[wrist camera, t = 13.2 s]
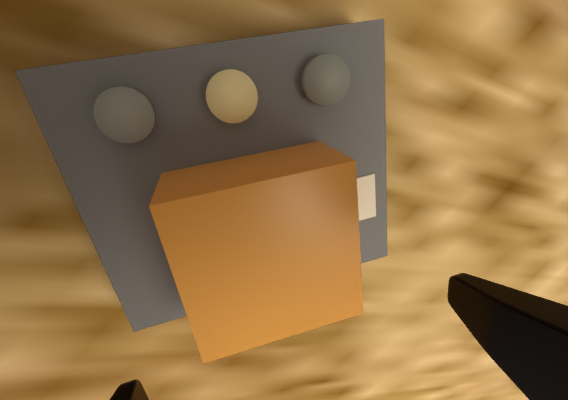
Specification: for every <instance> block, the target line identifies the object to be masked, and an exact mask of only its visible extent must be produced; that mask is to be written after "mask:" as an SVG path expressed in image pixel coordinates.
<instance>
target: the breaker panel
mask: <svg viewBox="0 0 568 400" xmlns="http://www.w3.org/2000/svg"><path fill="white" fill-rule="evenodd" d="M14 71H15V73H16V75H17V78H18V80H19V82H20V84H21V86H22V88H23V91H24V93H25V95H26V97H27V99H28V102H29V104H30V106H31V108H32V110H33V113H34V115H35V117H36V119H37V121H38V123H39V126H40V128H41V130H42V132H43V134H44V137H45V139H46V141H47V143H48V145H49V148H50V150H51V152H52V154H53V156H54V159H55V161H56V163H57V165H58V167H59V169H60V172H61V174H62V176H63V178H64V180H65V183H66V185H67V187H68V189H69V191H70V194H71V196H72V198H73V200H74V202H75V204H76V207H77V209H78V211H79V213H80V215H81V218H82V220H83V222H84V224H85V226H86V229H87V231H88V233H89V235H90V237H91V240H92V242H93V244H94V246H95V248H96V250H97V253H98V255H99V257H100V259H101V261H102V264H103V266H104V268H105V270H106V272H107V275H108V277H109V279H110V281H111V283H112V285H113V288H114V290H115V292H116V294H117V296H118V299H119V301H120V303H121V305H122V307H123V310H124V312H125V314H126V316H127V318H128V321H129V323H130V325H131V327H132V329H133V331H134V332H135V331H138V330H141V329H145V328H148V327H151V326H155V325H158V324H161V323H165V322H168V321H171V320H175V319H178V318H181V317H185V316H187V315H186V312H185V309H184V306H183V303H182V300H181V297H180V295H179V292H178V289H177V286H176V283H175V280H174V277H173V274H172V271H171V269H170V266H169V263H168V260H167V257H166V254H165V251H164V248H163V246H162V243H161V240H160V237H159V234H158V231H157V228H156V225H155V223H154V220H153V217H152V214H151V211H150V208H149V204H150V202H151V199H152V196H153V194H154V191H155V189H156V186H157V183H158V181H159V178H160V175H161V173H163V172H168V171H173V170H178V169H183V168H188V167H193V166H198V165H203V164H208V163H212V162H217V161H222V160H227V159H232V158H237V157H242V156H247V155H252V154H257V153H262V152H266V151H271V150H276V149H281V148H286V147H291V146H296V145H301V144H306V143H311V142H316V141H320V142H322V143H324V144H326V145H328V146H330V147H332V148H333V149H335V150H337V151H339V152H341V153H343V154H345V155H347V156H348V157H350V158H352V159H354V160H356V172H357V192H358V212H359V232H360V252H361V263H364V262H368V261H371V260H374V259H378V258H381V257H384V256H387V194H386V122H385V51H384V19H378V20H371V21H364V22H357V23H350V24H342V25H335V26H328V27H321V28H314V29H307V30H300V31H292V32H285V33H278V34H271V35H264V36H257V37H250V38H243V39H235V40H228V41H221V42H214V43H207V44H200V45H193V46H185V47H178V48H171V49H164V50H157V51H150V52H143V53H136V54H128V55H121V56H114V57H107V58H100V59H93V60H86V61H78V62H71V63H64V64H57V65H50V66H43V67H36V68H29V69H21V70H14Z"/></svg>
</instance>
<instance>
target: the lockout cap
mask: <svg viewBox="0 0 568 400" xmlns="http://www.w3.org/2000/svg"><path fill="white" fill-rule="evenodd" d="M149 208H150V211H151V214H152V217H153V220H154V223H155V225H156V228H157V231H158V234H159V237H160V240H161V243H162V246H163V248H164V251H165V254H166V257H167V260H168V263H169V266H170V269H171V271H172V274H173V277H174V280H175V283H176V286H177V289H178V292H179V295H180V297H181V300H182V303H183V306H184V309H185V312H186V315H187V318H188V320H189V323H190V326H191V329H192V332H193V335H194V338H195V341H196V343H197V346H198V349H199V352H200V355H201V358H202V361H203V364H204V363H207V362H210V361H213V360H216V359H219V358H223V357H226V356H229V355H232V354H235V353H238V352H242V351H245V350H248V349H251V348H254V347H258V346H261V345H264V344H267V343H270V342H273V341H277V340H280V339H283V338H286V337H289V336H292V335H296V334H299V333H302V332H305V331H308V330H311V329H315V328H318V327H321V326H324V325H327V324H331V323H334V322H337V321H340V320H343V319H346V318H350V317H353V316H356V315H359V314H362V313H363V293H362V273H361V252H360V232H359V212H358V192H357V172H356V160H354V159H352V158H350V157H348V156H347V155H345V154H343V153H341V152H339V151H337V150H335V149H333V148H332V147H330V146H328V145H326V144H324V143H322V142H320V141H316V142H311V143H306V144H301V145H296V146H291V147H286V148H281V149H276V150H271V151H266V152H262V153H257V154H252V155H247V156H242V157H237V158H232V159H227V160H222V161H217V162H212V163H208V164H203V165H198V166H193V167H188V168H183V169H178V170H173V171H168V172H163V173H161V175H160V178H159V181H158V183H157V186H156V189H155V191H154V194H153V196H152V199H151V202H150V204H149Z"/></svg>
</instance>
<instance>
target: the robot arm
mask: <svg viewBox="0 0 568 400" xmlns="http://www.w3.org/2000/svg"><path fill="white" fill-rule="evenodd" d="M448 302H449V304H450V306H451V307H452V308H453V310H454V311H455V312H456V314H457V315H458V316H459V318H460V319H461V320H462V321H463V323H464V324H465V325H466V327H467V328H468V329H469V331H470V332H471V333H472V335H473V336H474V337H475V339H476V340H477V341H478V343H479V344H480V345H481V346H482V347H483V349H484V350H485V351H486V352H487V353H488V355H489V356H490V357H491V358H492V359H493V360H494V361H495V362H496V364H497V365H498V366H499V367H500V368H501V369H502V370H503V371H504V372H505V373H506V375H507V376H508V377H509V378H510V379H511V380H512V381H513V382H514V383H515V384H516V386H517V387H518V388H519V389H520V390H521V391H522V392H523V393H524V394H525V395H526V397H527V398H528V399H529V400H568V306H566V305H563V304H560V303H557V302H554V301H551V300H548V299H544V298H541V297H538V296H535V295H532V294H529V293H526V292H522V291H519V290H516V289H513V288H510V287H507V286H504V285H500V284H497V283H494V282H491V281H488V280H485V279H481V278H478V277H475V276H472V275H469V274H466V273H460V274H457V275H454V276H451V277H450V279H449V285H448ZM110 400H149V399H148V397H147V395H146V392H145V390H144V388H143V386H142V384H141V382H140V381H139V380H132V381H129V382H126V383H123V384H121V385H120V386H119V387H118V388H117V390H116V391H115V393H114V394H113V395H112V397H111V398H110Z"/></svg>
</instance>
